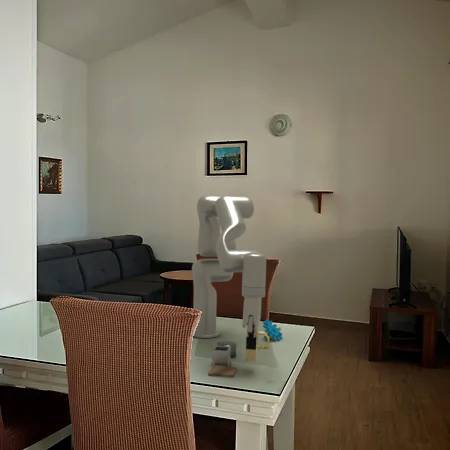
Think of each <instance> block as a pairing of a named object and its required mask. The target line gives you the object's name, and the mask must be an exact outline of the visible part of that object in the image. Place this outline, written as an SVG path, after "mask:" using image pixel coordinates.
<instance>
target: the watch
mask: <svg viewBox="0 0 450 450" xmlns="http://www.w3.org/2000/svg"><path fill="white" fill-rule="evenodd" d="M259 335H260V336H266V337H267V338H266V339H267V344H266V345H265V346H262V345H261V346H260V345H257V349H258V348H260V349H266V348H267V347H268V346H269V344H270V337H269V336H268V335H267V333H266V332H265V331H258V336H259Z"/></svg>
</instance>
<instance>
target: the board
mask: <svg viewBox="0 0 450 450" xmlns="http://www.w3.org/2000/svg"><path fill="white" fill-rule="evenodd" d="M211 366H212V367H211V368H210V369H209V371H208V373H207V376H209V377H224V378H234V377H235V374H236V373H237V372H238V371H237V370H238V366H230V365H229V366H217V365H211Z"/></svg>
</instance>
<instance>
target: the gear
mask: <svg viewBox="0 0 450 450" xmlns="http://www.w3.org/2000/svg"><path fill="white" fill-rule="evenodd" d="M262 324H263V325H262V328H264V332H265V334H267V335H268V337H269V338H272V337H273V338H272V340H274V341H278V342H280V341H281V340H282V339H283V332H281V330H282V327H277V326H278V325H277V324H276V323H274V324H273V321H272V320H269V319H266V320H264V321H263V322H262ZM263 336H264V339H267V337H266V336H265V335H263Z"/></svg>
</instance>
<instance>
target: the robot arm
mask: <svg viewBox="0 0 450 450" xmlns="http://www.w3.org/2000/svg"><path fill="white" fill-rule="evenodd" d="M196 212H197V215H198V222H199V226H198V227H199V228H198V238H197V253H198V254H199V256H201V257H206V258H200V259H197V260H195V261H194V262H193V264H192V266H191V274H192V280H193V283H192V284H193V310H194V309H198V310H201V311H202V316H201V318H200V321H199V323H198V326H197V328H196V331H195V334H194V337H193V338H196V339H197V338H198V339H212V338H217V337H219V336H221V334H220V331H219V330H217V303H218V302H217V301H218V300H217V297H218V296H217V294H218V293H217V290H216V289H215V287H214V286H213V285H212V283H216V282H229V281H231V280H232V279H233V276H234V273H241V274H242V279H241V296H242V297H244V298H243V299H244V300H243V308H242V309H243V312H242V325H241V327H242V328H244V329H245V328H246V337H245V341H246V342H245V350H246V349H250V350H256V338H257V337H256V328H258V329H259V325H260V323H261V317H262V316H261V315H262V299H263V298H265V297H266V281H267V280H266V277H267V256H266V255H265V254H264V253H261V252H259V251H258V250H256V249H237V244H236V243H237V242H236V239H237V240H238V238H240V237H241V236H243V235H244V234H245V232H246V229H247V227H246V223H245V219H250V218H252V217H253V215H254V212H255V205H254V202H253V200H252V199H251V198H250V197H249V196H245V195H219V194H217V195H216V194H213V195H212V194H211V195H207V194H206V195H202V196H200V197H199V199H198V200H197V203H196ZM221 231H222V232H221ZM220 232H221V233H220ZM207 257H209V258H207ZM216 257H217V258H216ZM253 326H255V327H253ZM253 330H254V331H253ZM258 339H259V338H258ZM258 339H257V345H258V341H259V340H258ZM258 346H259V345H258Z"/></svg>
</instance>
